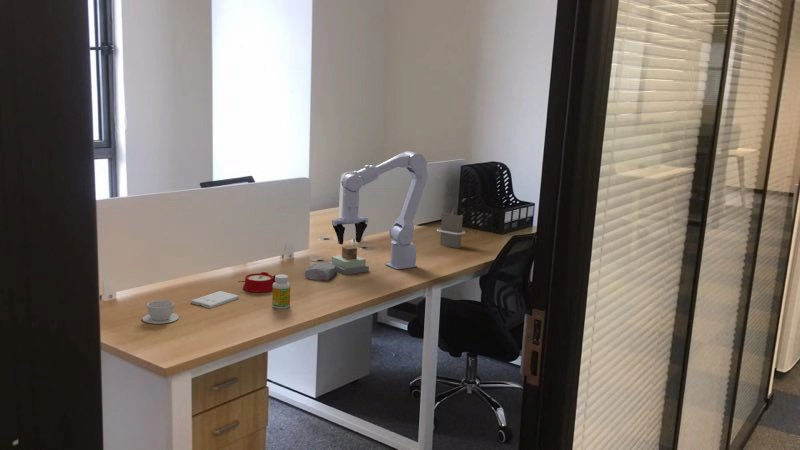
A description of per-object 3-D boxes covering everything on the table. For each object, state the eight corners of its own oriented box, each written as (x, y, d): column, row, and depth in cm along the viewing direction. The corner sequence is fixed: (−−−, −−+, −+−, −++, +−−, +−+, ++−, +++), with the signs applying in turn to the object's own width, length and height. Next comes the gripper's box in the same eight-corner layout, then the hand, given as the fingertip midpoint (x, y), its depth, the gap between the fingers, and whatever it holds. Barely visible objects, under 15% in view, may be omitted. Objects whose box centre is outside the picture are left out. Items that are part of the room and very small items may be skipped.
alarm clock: (234, 279, 239) (264, 261, 250) (236, 295, 241) (267, 277, 253) (257, 285, 233) (287, 266, 245) (260, 302, 236) (290, 283, 247)
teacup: (183, 322, 207) (183, 306, 206) (147, 327, 202) (146, 311, 201) (173, 311, 215) (173, 296, 214) (138, 316, 210) (138, 300, 209)
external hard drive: (238, 300, 230) (210, 310, 220) (219, 295, 234) (190, 304, 224) (238, 295, 230) (210, 305, 219) (219, 290, 234) (190, 299, 223)
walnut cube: (350, 256, 273) (351, 245, 272) (356, 258, 270) (357, 248, 269) (341, 257, 271) (342, 246, 270) (347, 259, 268) (347, 249, 267)
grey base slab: (352, 265, 279) (353, 259, 279) (368, 272, 270) (368, 266, 270) (328, 268, 273) (328, 262, 272) (343, 276, 264) (343, 269, 263)
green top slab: (351, 260, 277) (351, 253, 277) (365, 265, 270) (365, 259, 270) (331, 262, 272) (331, 256, 271) (345, 268, 265) (345, 262, 264)
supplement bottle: (279, 310, 221) (280, 279, 219) (268, 305, 225) (269, 275, 223) (293, 306, 225) (294, 276, 223) (282, 302, 229) (283, 272, 227)
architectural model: (436, 238, 332) (438, 207, 329) (486, 247, 319) (488, 215, 316) (414, 245, 316) (416, 212, 313) (465, 255, 303) (467, 221, 300)
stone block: (303, 283, 257) (330, 280, 255) (301, 270, 256) (328, 267, 254) (313, 276, 268) (339, 273, 266) (311, 263, 268) (337, 260, 266)
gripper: (339, 210, 259) (338, 247, 262) (373, 207, 268) (371, 243, 270) (329, 206, 265) (328, 243, 268) (362, 204, 273) (361, 239, 276)
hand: (349, 243), depth 269 cm, fingers open, 7 cm apart
